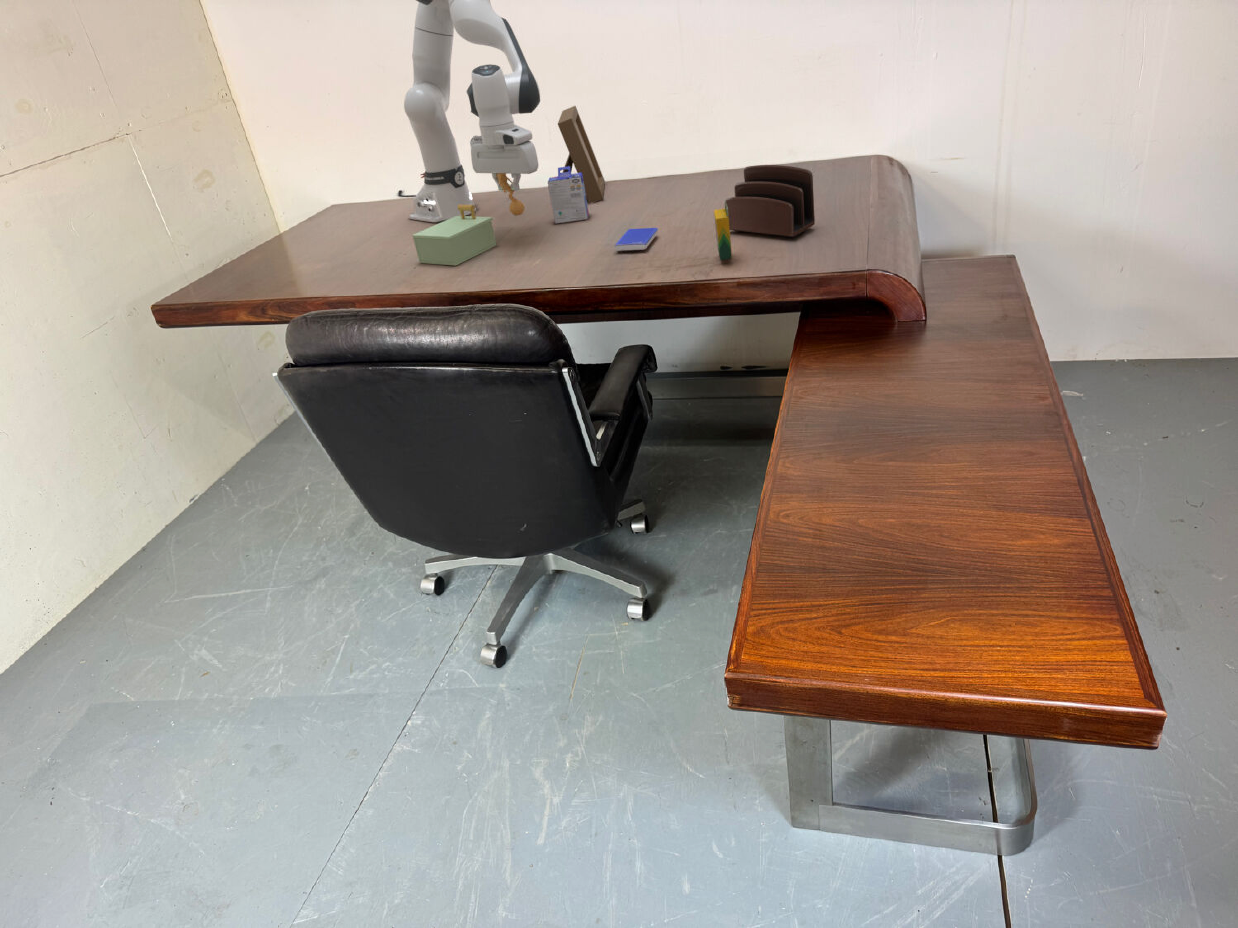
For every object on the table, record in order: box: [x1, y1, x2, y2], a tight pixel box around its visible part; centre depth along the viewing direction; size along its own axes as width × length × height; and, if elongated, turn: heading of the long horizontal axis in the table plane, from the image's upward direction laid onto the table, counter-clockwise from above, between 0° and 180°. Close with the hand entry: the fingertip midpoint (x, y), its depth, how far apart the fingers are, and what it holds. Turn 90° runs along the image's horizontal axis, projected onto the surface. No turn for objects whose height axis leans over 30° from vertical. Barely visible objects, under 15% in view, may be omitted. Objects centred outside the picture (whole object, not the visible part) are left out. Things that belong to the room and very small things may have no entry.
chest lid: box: [412, 205, 494, 240], centre depth 225 cm, size 17×14×5 cm
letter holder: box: [724, 164, 816, 238], centre depth 205 cm, size 10×20×14 cm, turn 48°
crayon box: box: [713, 200, 733, 261], centre depth 193 cm, size 7×3×12 cm, turn 178°
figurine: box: [497, 173, 525, 217], centre depth 222 cm, size 8×6×12 cm
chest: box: [412, 221, 497, 266], centre depth 228 cm, size 17×14×7 cm
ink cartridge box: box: [547, 166, 590, 224], centre depth 240 cm, size 10×6×14 cm, turn 89°
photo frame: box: [557, 105, 606, 204], centre depth 260 cm, size 15×22×25 cm
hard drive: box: [614, 227, 659, 251], centre depth 214 cm, size 2×8×12 cm
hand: (509, 190), depth 222 cm, fingers closed on figurine, 3 cm apart
